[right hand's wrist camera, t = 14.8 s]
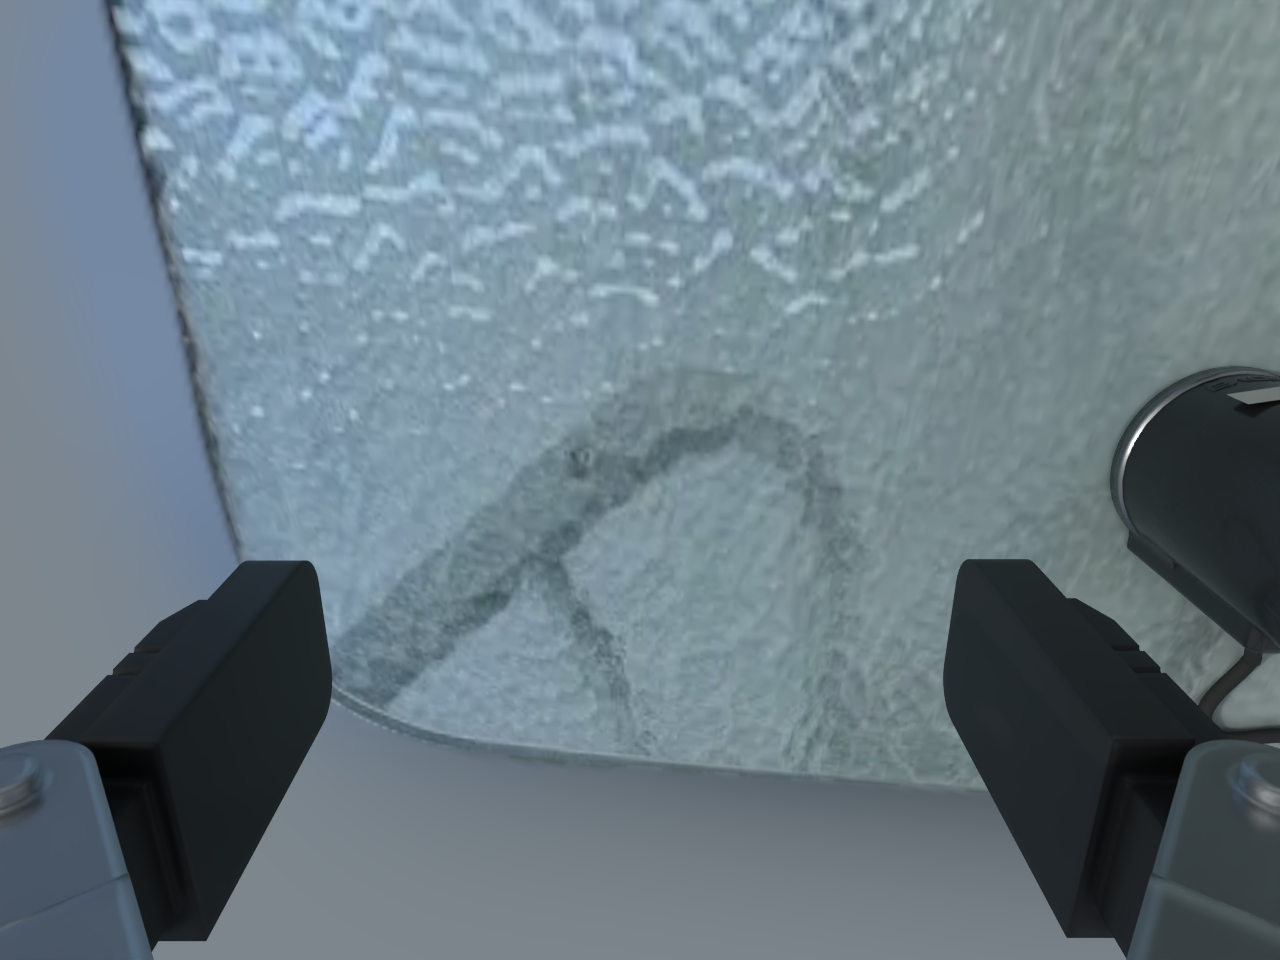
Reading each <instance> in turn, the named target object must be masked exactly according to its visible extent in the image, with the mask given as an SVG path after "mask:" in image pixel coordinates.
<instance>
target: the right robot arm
mask: <svg viewBox="0 0 1280 960" xmlns="http://www.w3.org/2000/svg"><path fill="white" fill-rule="evenodd" d="M1110 484H1111V494H1112V499H1113V502H1114V506H1115V508H1116V510H1117V513H1118V515H1119V516H1120V518H1121V520H1122V521H1123V523H1124V524H1125V525H1126V526H1127V528H1128V529H1129V539H1128V544H1127V548H1128V549H1129V550H1130V551H1131V552H1133V553H1134V554H1135V555H1136V556H1137V557H1138V558H1140V559H1141V560H1142V561H1143V562H1144V563H1145V564H1147V565H1148V566H1149V567H1150V568H1151V569H1153V570H1154V571H1155V572H1156V573H1157V574H1158V575H1160V576H1161V577H1162V578H1163V579H1164V580H1165V581H1167V582H1168V583H1169V584H1170V585H1171V586H1173V587H1174V588H1175V589H1176V590H1177V591H1178V592H1180V593H1181V594H1182V595H1183V596H1184V597H1186V598H1187V599H1188V600H1189V601H1190V602H1191V603H1193V604H1194V605H1195V606H1196V607H1197V608H1198V609H1200V610H1201V611H1202V612H1203V613H1204V614H1206V615H1207V616H1208V617H1209V618H1210V619H1211V620H1213V621H1214V622H1215V623H1216V624H1217V625H1219V626H1220V627H1221V628H1222V629H1223V630H1224V631H1226V632H1227V633H1228V634H1229V635H1230V636H1231V637H1233V638H1234V639H1235V640H1236V641H1237V642H1239V643H1240V644H1241V645H1242V646H1243V647H1245V650H1244V655H1243V657H1242V658H1241V659H1240V660H1239V661H1238V662H1237V663H1236V664H1235V665H1234V666H1233V667H1232V668H1231V669H1230V670H1229V671H1228V672H1227V673H1226V674H1225V675H1224V676H1223V677H1221V678H1220V679H1219V680H1218V681H1217V682H1216V683H1215V684H1214V685H1213V686H1212V687H1211V688H1210V689H1209V691H1208V692H1207V693H1206V694H1205V695H1204V697H1203V698H1202V699H1201V701H1200V703H1199V705H1198V706H1197V705H1196V703H1195V702H1194V701H1193V700H1192V699H1191V698H1190V697H1189V696H1188V695H1187V694H1186V693H1185V692H1184V691H1183V690H1182V689H1181V688H1180V687H1179V686H1178V685H1177V684H1176V683H1175V682H1174V681H1173V680H1172V679H1171V678H1170V677H1169V676H1168V675H1167V674H1166V673H1161V672H1160V667H1159V666H1158V665H1157V664H1156V663H1155V661H1154V660H1153V659H1152V658H1151V657H1150V656H1149V655H1148V654H1147V653H1146V652H1145V651H1140V650H1139V645H1138V644H1137V643H1136V642H1135V641H1134V640H1133V639H1132V638H1131V637H1130V636H1129V635H1128V634H1127V633H1126V632H1125V631H1124V630H1123V629H1122V628H1121V627H1120V626H1119V625H1118V624H1117V623H1116V622H1115V621H1114V620H1113V619H1111V618H1109V617H1108V616H1106V615H1104V614H1102V613H1101V612H1099V611H1097V610H1095V609H1094V608H1092V607H1090V606H1088V605H1087V604H1085V603H1083V602H1081V601H1079V600H1078V599H1076V598H1066V597H1065V596H1064V595H1063V594H1062V593H1061V592H1060V591H1059V589H1058V588H1057V587H1056V586H1055V585H1054V584H1053V583H1052V582H1051V581H1050V580H1049V579H1048V577H1047V576H1046V575H1045V574H1044V573H1043V572H1042V571H1041V570H1040V569H1039V568H1038V567H1037V566H1036V564H1035V563H1033V562H1032V561H1031V560H1029V559H967V560H965V561H964V562H963V563H962V565H961V567H960V569H959V572H958V575H957V581H956V587H955V594H954V601H953V608H952V615H951V621H950V628H949V635H948V642H947V649H946V656H945V663H944V671H943V686H944V696H945V702H946V706H947V710H948V713H949V716H950V718H951V721H952V723H953V725H954V726H955V728H956V730H957V732H958V734H959V736H960V738H961V740H962V741H963V743H964V745H965V747H966V749H967V751H968V753H969V755H970V756H971V758H972V760H973V762H974V764H975V766H976V768H977V770H978V772H979V773H980V775H981V777H982V779H983V781H984V783H985V785H986V787H987V788H988V790H989V792H990V794H991V796H992V798H993V800H994V802H995V804H996V805H997V807H998V809H999V811H1000V813H1001V815H1002V817H1003V819H1004V820H1005V822H1006V824H1007V826H1008V828H1009V830H1010V832H1011V834H1012V836H1013V837H1014V839H1015V841H1016V843H1017V845H1018V847H1019V849H1020V851H1021V852H1022V854H1023V856H1024V858H1025V860H1026V862H1027V864H1028V866H1029V868H1030V869H1031V871H1032V873H1033V875H1034V877H1035V879H1036V881H1037V883H1038V884H1039V886H1040V888H1041V890H1042V892H1043V894H1044V896H1045V898H1046V900H1047V901H1048V903H1049V905H1050V907H1051V909H1052V911H1053V913H1054V915H1055V916H1056V918H1057V920H1058V922H1059V924H1060V926H1061V928H1062V930H1063V931H1064V933H1065V935H1066V937H1067V938H1115V940H1116V942H1117V943H1118V945H1119V947H1120V948H1121V950H1122V952H1123V953H1124V955H1125V957H1126V960H1280V748H1276V747H1273V746H1269V745H1265V744H1266V743H1280V729H1260V730H1251V731H1242V732H1223V731H1222V730H1221V729H1220V728H1219V727H1218V726H1217V725H1216V724H1215V723H1214V722H1213V721H1212V720H1211V717H1212V714H1213V712H1214V710H1215V709H1216V707H1217V706H1218V704H1219V703H1220V702H1221V701H1222V700H1223V699H1224V697H1225V696H1226V695H1227V694H1228V693H1229V692H1230V691H1231V690H1233V689H1234V688H1235V687H1236V686H1237V685H1238V684H1239V683H1240V682H1241V681H1242V680H1243V679H1245V678H1246V677H1247V676H1248V675H1249V674H1250V673H1251V672H1252V671H1253V670H1254V669H1255V667H1257V666H1258V665H1260V663H1261V660H1262V653H1280V377H1279V376H1277V375H1274V374H1271V373H1269V372H1266V371H1263V370H1259V369H1255V368H1249V367H1236V366H1235V367H1221V368H1214V369H1210V370H1206V371H1202V372H1199V373H1196V374H1193V375H1191V376H1188V377H1186V378H1184V379H1182V380H1180V381H1178V382H1176V383H1174V384H1172V385H1171V386H1169V387H1168V388H1166V389H1164V390H1163V391H1162V392H1160V393H1159V394H1158V395H1156V396H1155V397H1154V398H1153V399H1152V400H1150V401H1149V402H1148V403H1147V404H1146V405H1145V406H1144V407H1143V408H1142V409H1141V410H1140V411H1139V412H1138V414H1137V415H1136V416H1135V417H1134V418H1133V420H1132V421H1131V423H1130V424H1129V425H1128V427H1127V429H1126V430H1125V432H1124V434H1123V435H1122V437H1121V439H1120V442H1119V444H1118V446H1117V449H1116V451H1115V454H1114V458H1113V462H1112V468H1111V478H1110ZM331 692H332V669H331V662H330V655H329V648H328V642H327V635H326V628H325V621H324V615H323V608H322V601H321V594H320V588H319V581H318V576H317V573H316V570H315V568H314V566H313V565H312V563H310V562H309V561H245V562H243V563H242V564H240V565H239V566H238V568H237V569H236V570H235V571H234V572H233V573H232V574H231V575H230V576H229V577H228V578H227V579H226V580H225V582H224V583H223V584H222V585H221V586H220V587H219V588H218V589H217V590H216V591H215V592H214V593H213V594H212V595H211V597H210V598H209V599H208V600H198V601H196V602H194V603H192V604H191V605H189V606H187V607H185V608H183V609H182V610H180V611H178V612H176V613H175V614H173V615H171V616H169V617H168V618H166V619H164V620H162V621H161V622H159V623H158V624H157V625H156V626H155V627H154V628H153V629H152V630H151V631H150V632H149V633H148V634H147V635H146V636H145V637H144V638H143V640H142V641H141V642H140V643H139V644H138V645H137V646H136V647H135V650H134V653H129V654H128V655H127V656H126V657H125V658H124V659H123V660H122V661H121V662H120V663H119V664H118V665H117V666H116V667H115V668H114V669H113V675H107V676H106V677H105V678H104V679H103V680H102V681H101V682H100V683H99V684H98V685H97V686H96V687H95V688H94V689H93V690H92V691H91V692H90V693H89V694H88V695H87V696H86V697H85V698H84V699H83V700H82V701H81V702H80V704H78V705H77V707H76V708H75V709H74V710H73V711H72V712H71V713H70V714H69V715H68V716H67V717H66V718H65V719H64V720H63V721H62V722H61V723H60V724H59V725H58V726H57V727H56V728H55V729H54V730H53V731H52V732H51V733H50V734H49V735H48V736H47V737H46V738H45V739H44V740H38V741H30V742H24V743H20V744H15V745H11V746H7V747H4V748H0V960H154V959H153V955H152V951H153V949H154V947H155V946H156V944H157V942H158V941H206V940H207V938H208V937H209V935H210V933H211V931H212V929H213V927H214V926H215V924H216V922H217V920H218V918H219V916H220V914H221V912H222V911H223V909H224V907H225V905H226V903H227V901H228V899H229V898H230V896H231V894H232V892H233V890H234V888H235V887H236V885H237V883H238V881H239V879H240V877H241V875H242V874H243V872H244V870H245V868H246V866H247V864H248V862H249V860H250V859H251V857H252V855H253V853H254V851H255V849H256V847H257V846H258V844H259V842H260V840H261V838H262V836H263V834H264V833H265V831H266V829H267V827H268V825H269V823H270V821H271V820H272V818H273V816H274V814H275V812H276V810H277V808H278V807H279V805H280V803H281V801H282V799H283V797H284V795H285V794H286V792H287V790H288V788H289V786H290V784H291V782H292V781H293V779H294V777H295V775H296V773H297V771H298V769H299V768H300V766H301V764H302V762H303V760H304V758H305V756H306V754H307V753H308V751H309V749H310V747H311V745H312V743H313V741H314V740H315V738H316V736H317V734H318V732H319V730H320V728H321V727H322V725H323V723H324V721H325V719H326V716H327V713H328V709H329V705H330V700H331Z"/></svg>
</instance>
